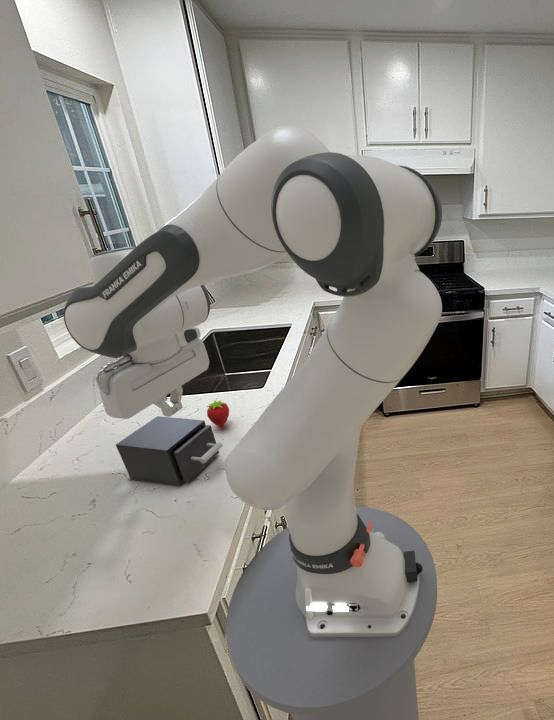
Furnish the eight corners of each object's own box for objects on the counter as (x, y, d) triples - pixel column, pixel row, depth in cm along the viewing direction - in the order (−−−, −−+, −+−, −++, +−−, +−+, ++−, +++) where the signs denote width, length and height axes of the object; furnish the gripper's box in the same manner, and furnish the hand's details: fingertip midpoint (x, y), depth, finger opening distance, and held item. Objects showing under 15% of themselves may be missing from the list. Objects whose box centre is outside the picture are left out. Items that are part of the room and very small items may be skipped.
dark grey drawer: (233, 454, 103) (225, 426, 99) (203, 484, 93) (193, 454, 89) (176, 448, 106) (166, 421, 103) (142, 476, 96) (129, 447, 93)
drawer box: (215, 453, 105) (204, 420, 101) (180, 485, 94) (166, 450, 89) (169, 448, 108) (157, 416, 104) (130, 479, 97) (115, 444, 92)
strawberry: (233, 418, 121) (225, 390, 117) (232, 431, 114) (224, 401, 110) (213, 422, 119) (204, 394, 115) (210, 436, 113) (201, 406, 108)
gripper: (109, 371, 57) (141, 447, 63) (205, 325, 75) (223, 387, 81) (75, 369, 58) (109, 444, 64) (177, 324, 77) (197, 386, 82)
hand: (173, 412), depth 73 cm, fingers closed
